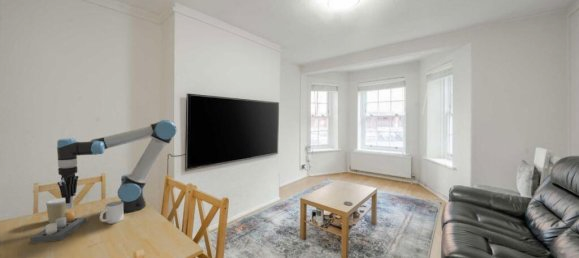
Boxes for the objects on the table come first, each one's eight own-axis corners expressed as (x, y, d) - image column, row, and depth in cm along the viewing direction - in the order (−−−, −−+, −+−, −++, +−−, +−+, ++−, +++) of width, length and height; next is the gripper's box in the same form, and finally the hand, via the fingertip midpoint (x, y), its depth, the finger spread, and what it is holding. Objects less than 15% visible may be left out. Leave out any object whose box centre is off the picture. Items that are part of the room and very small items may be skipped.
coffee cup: (74, 217, 135) (73, 198, 135) (56, 225, 126) (56, 204, 125) (60, 216, 136) (59, 197, 136) (42, 223, 127) (41, 203, 126)
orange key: (76, 219, 128) (76, 211, 128) (71, 222, 125) (71, 214, 124) (68, 220, 128) (67, 211, 127) (62, 223, 124) (62, 214, 123)
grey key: (68, 225, 122) (68, 216, 122) (62, 229, 118) (62, 220, 118) (59, 226, 121) (59, 217, 121) (53, 230, 117) (53, 220, 117)
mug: (104, 228, 124) (103, 210, 124) (95, 225, 127) (94, 207, 127) (126, 219, 135) (126, 202, 135) (118, 216, 139) (117, 200, 138)
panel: (86, 221, 131) (86, 217, 131) (60, 240, 112) (60, 235, 111) (61, 223, 128) (61, 218, 128) (30, 242, 109) (30, 237, 109)
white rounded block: (59, 231, 116) (59, 222, 116) (53, 235, 112) (52, 226, 112) (49, 232, 115) (49, 223, 115) (43, 236, 111) (43, 226, 111)
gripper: (67, 164, 129) (69, 204, 131) (50, 169, 116) (52, 213, 118) (83, 163, 131) (85, 203, 132) (67, 169, 118) (69, 212, 120)
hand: (69, 208), depth 125 cm, fingers closed
